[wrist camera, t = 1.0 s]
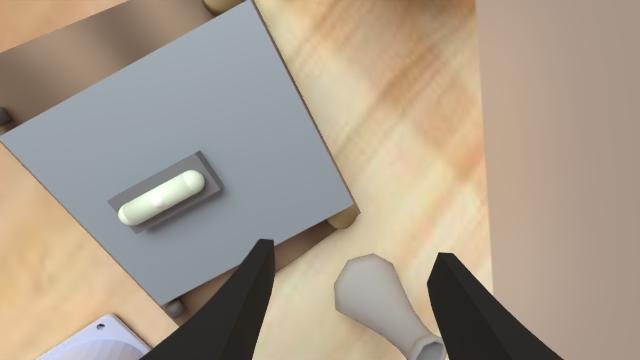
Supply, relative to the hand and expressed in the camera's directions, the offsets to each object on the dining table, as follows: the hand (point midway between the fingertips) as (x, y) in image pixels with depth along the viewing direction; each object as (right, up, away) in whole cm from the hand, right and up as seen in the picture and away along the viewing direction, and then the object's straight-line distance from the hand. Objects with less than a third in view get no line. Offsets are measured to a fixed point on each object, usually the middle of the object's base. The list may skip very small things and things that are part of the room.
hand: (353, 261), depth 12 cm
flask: (+3, -7, +17) cm, 19 cm away
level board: (-9, +4, +6) cm, 12 cm away
